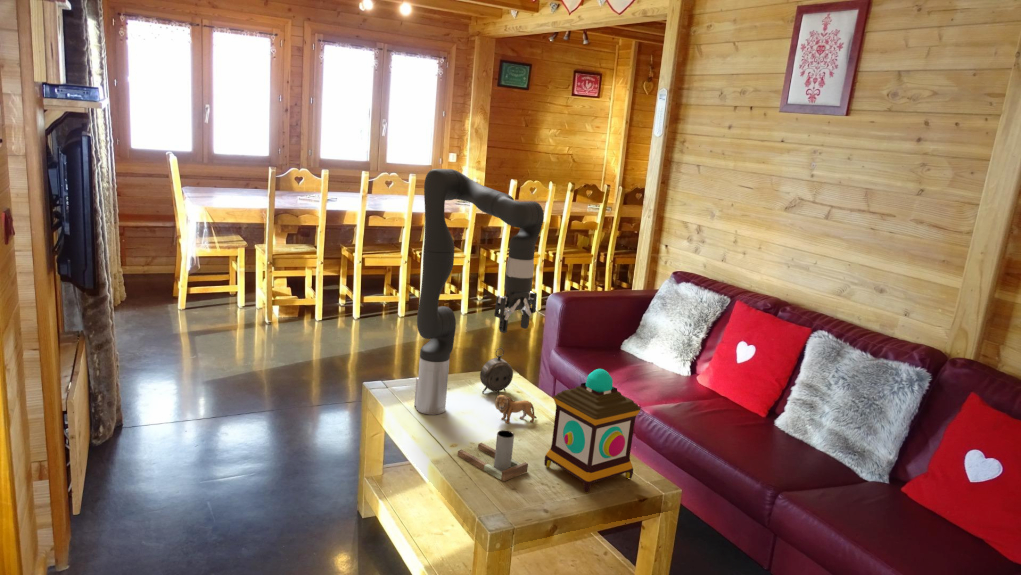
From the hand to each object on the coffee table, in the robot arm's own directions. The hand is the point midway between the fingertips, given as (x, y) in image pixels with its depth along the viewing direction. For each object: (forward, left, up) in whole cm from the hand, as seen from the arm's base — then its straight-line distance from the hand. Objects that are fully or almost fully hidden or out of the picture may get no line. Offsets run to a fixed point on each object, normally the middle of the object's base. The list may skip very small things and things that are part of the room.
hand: (513, 330), depth 206 cm
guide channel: (+8, -12, -34) cm, 37 cm away
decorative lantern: (+27, +6, -34) cm, 44 cm away
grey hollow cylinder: (+12, -12, -34) cm, 38 cm away
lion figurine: (-9, +14, -34) cm, 38 cm away
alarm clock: (-29, +26, -34) cm, 52 cm away
